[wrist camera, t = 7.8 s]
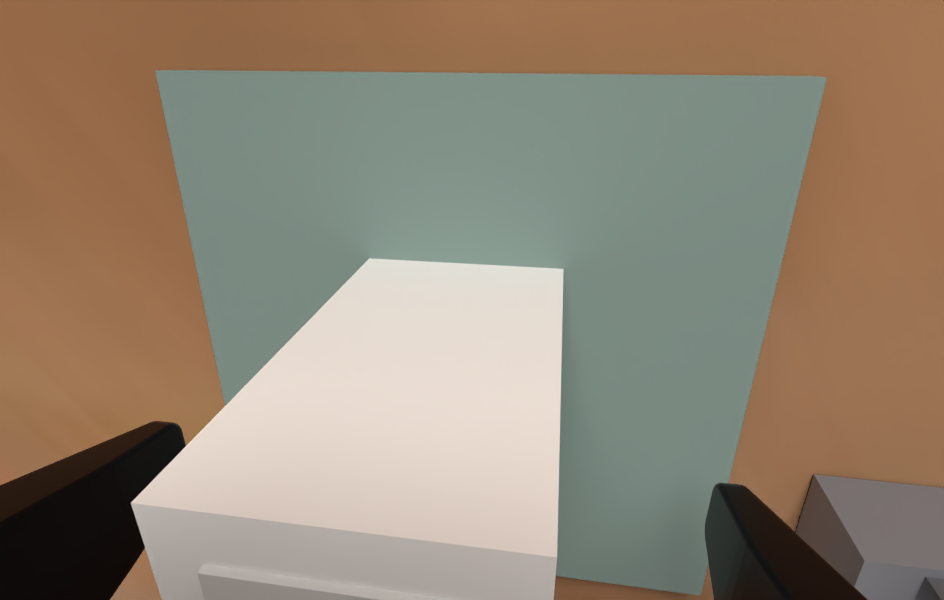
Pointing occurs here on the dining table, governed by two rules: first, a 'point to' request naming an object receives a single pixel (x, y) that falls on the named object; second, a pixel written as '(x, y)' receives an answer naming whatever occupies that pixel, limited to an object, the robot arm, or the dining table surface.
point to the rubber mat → (524, 250)
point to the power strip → (878, 535)
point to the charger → (380, 450)
